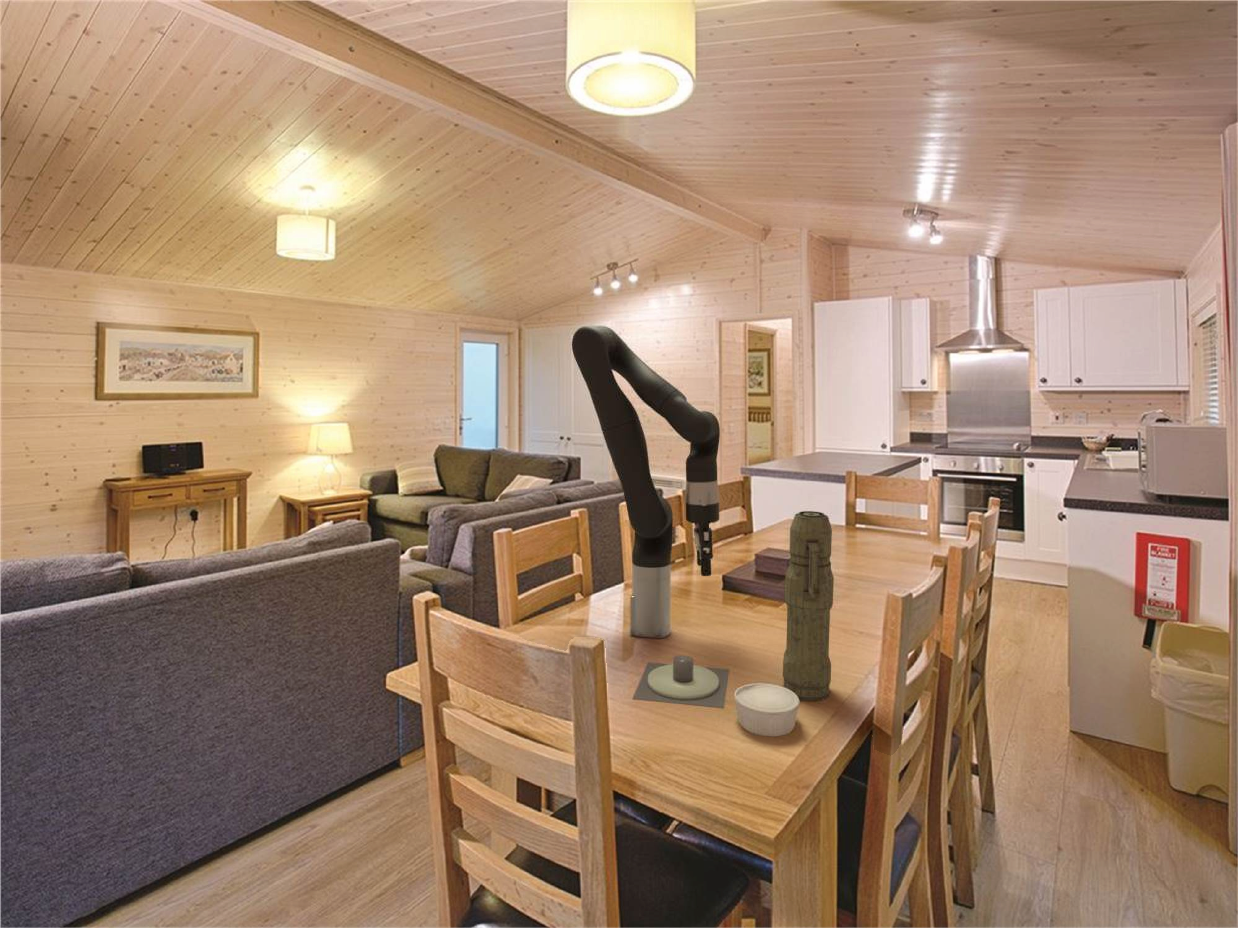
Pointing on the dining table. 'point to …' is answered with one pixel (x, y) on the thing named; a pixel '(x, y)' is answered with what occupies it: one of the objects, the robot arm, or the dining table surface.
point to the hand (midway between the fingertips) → (704, 570)
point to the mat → (711, 701)
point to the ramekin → (766, 709)
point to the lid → (683, 680)
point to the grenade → (808, 607)
